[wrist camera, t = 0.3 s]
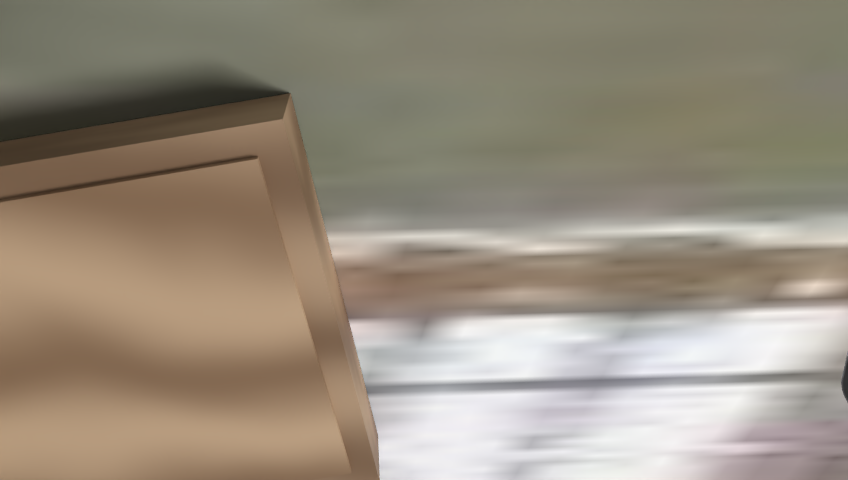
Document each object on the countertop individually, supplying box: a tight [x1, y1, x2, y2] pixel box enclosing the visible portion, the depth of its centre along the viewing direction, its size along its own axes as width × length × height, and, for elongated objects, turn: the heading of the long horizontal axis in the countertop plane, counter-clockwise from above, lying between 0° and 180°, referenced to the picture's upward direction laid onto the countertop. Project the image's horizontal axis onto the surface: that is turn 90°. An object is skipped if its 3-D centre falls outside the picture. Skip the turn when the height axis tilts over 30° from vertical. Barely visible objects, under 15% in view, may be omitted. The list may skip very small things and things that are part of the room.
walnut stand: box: [0, 93, 380, 480], centre depth 23 cm, size 16×16×3 cm
